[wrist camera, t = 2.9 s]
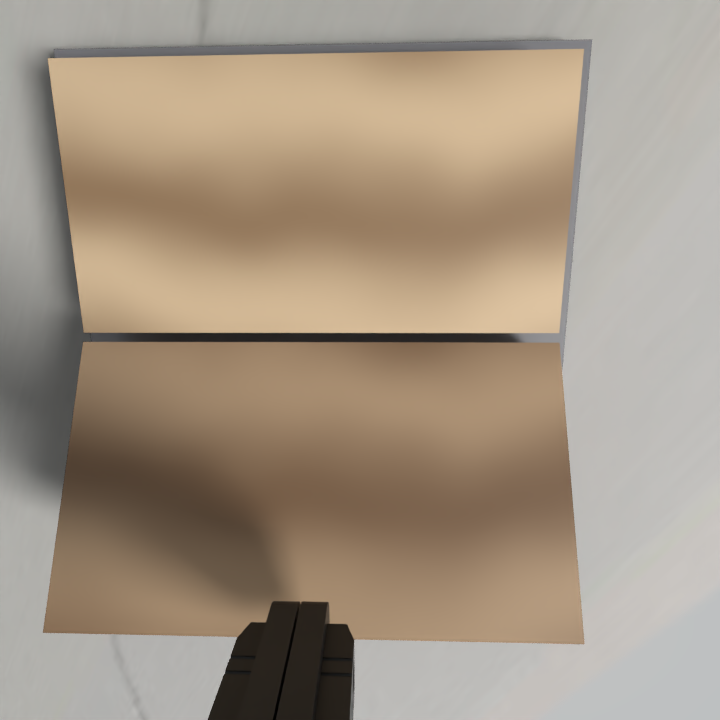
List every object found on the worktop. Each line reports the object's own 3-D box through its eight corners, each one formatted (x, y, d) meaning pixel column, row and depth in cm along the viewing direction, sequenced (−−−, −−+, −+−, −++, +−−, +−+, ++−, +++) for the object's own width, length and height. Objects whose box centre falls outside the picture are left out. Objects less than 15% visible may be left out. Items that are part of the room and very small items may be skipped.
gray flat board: (72, 60, 17) (53, 49, 16) (579, 52, 17) (592, 39, 16) (132, 554, 22) (120, 568, 21) (535, 560, 21) (543, 575, 20)
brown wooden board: (114, 355, 18) (83, 341, 16) (539, 356, 18) (559, 342, 16) (82, 612, 16) (43, 632, 14) (558, 622, 16) (584, 644, 14)
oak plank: (86, 81, 16) (47, 58, 14) (558, 73, 16) (584, 48, 14) (114, 324, 18) (83, 332, 16) (538, 324, 18) (559, 333, 16)
